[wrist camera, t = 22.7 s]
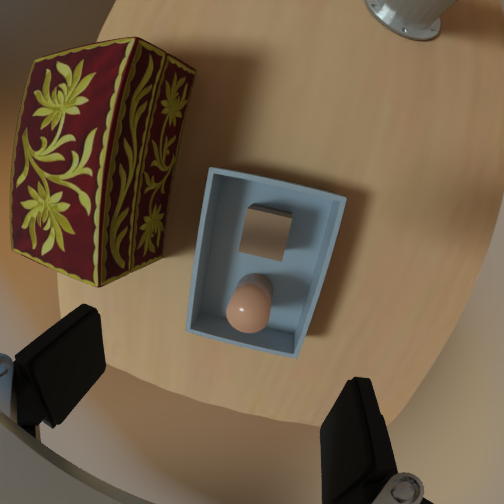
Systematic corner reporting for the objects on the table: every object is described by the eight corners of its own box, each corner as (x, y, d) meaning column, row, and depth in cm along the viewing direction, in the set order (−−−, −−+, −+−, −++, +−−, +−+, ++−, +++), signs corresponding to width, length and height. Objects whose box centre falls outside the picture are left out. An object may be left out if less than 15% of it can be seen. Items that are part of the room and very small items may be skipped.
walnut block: (252, 203, 35) (246, 208, 30) (291, 212, 34) (292, 218, 30) (245, 240, 36) (238, 251, 32) (282, 249, 36) (281, 261, 31)
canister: (240, 269, 37) (230, 290, 31) (277, 277, 37) (274, 301, 30) (234, 301, 39) (223, 327, 32) (268, 310, 39) (264, 337, 32)
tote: (221, 167, 35) (209, 167, 29) (338, 193, 34) (347, 197, 28) (197, 312, 41) (185, 331, 36) (296, 336, 40) (296, 358, 35)
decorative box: (95, 73, 33) (32, 51, 18) (198, 70, 31) (148, 23, 17) (72, 232, 41) (8, 257, 26) (163, 258, 40) (105, 302, 25)
